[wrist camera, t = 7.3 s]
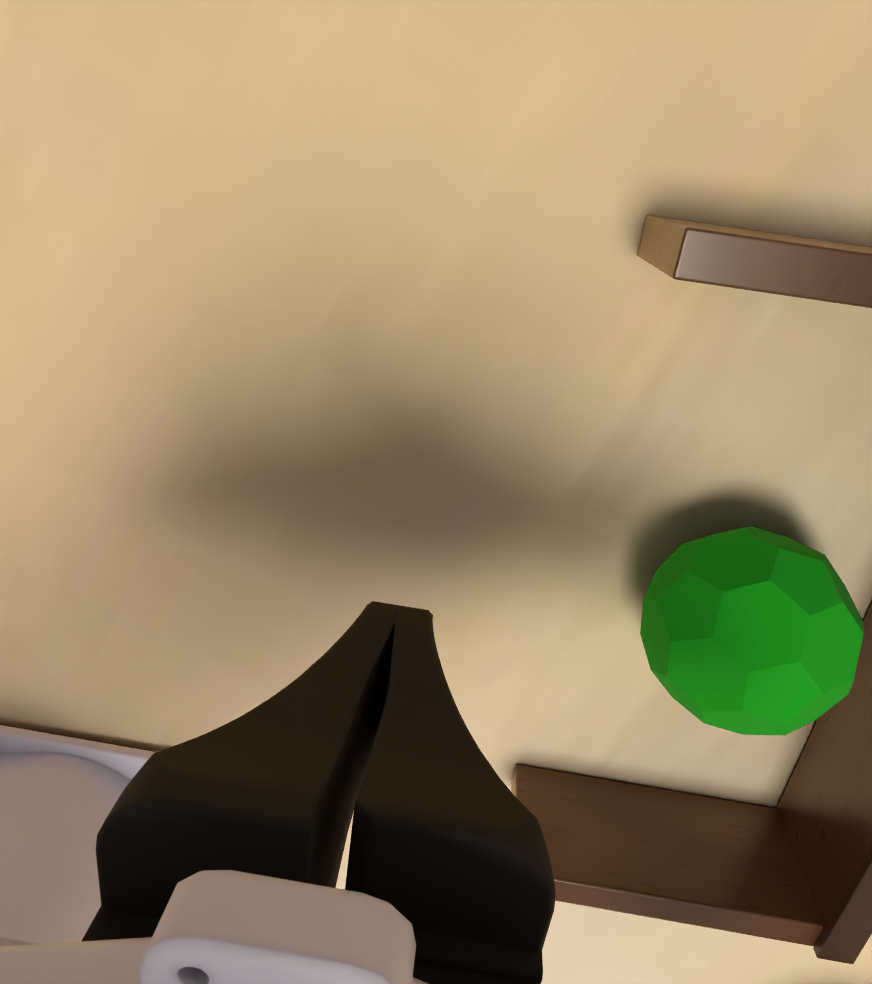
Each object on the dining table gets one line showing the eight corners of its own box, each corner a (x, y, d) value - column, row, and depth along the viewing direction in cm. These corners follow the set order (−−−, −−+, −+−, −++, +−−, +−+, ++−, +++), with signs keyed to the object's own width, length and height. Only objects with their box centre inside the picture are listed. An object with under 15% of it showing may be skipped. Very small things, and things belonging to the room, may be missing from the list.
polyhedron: (651, 667, 21) (687, 795, 17) (609, 527, 19) (637, 629, 15) (828, 627, 20) (916, 753, 16) (800, 475, 18) (891, 569, 14)
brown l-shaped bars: (510, 782, 24) (510, 904, 20) (646, 214, 16) (689, 227, 12) (795, 832, 23) (853, 965, 19) (1068, 275, 16) (1253, 308, 12)
